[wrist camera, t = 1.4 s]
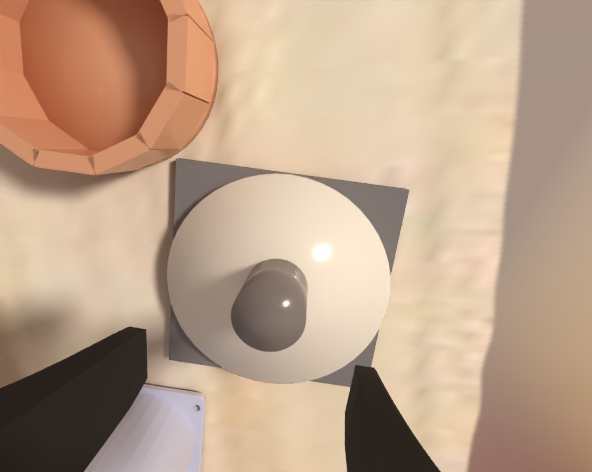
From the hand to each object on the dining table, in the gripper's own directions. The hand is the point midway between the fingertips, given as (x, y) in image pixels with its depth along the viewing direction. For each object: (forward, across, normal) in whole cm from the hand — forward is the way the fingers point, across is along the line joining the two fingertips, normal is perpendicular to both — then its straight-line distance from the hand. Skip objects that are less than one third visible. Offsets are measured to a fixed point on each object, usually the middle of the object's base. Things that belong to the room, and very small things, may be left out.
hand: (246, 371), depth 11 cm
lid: (+9, 0, +1) cm, 9 cm away
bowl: (+10, +10, -10) cm, 17 cm away
